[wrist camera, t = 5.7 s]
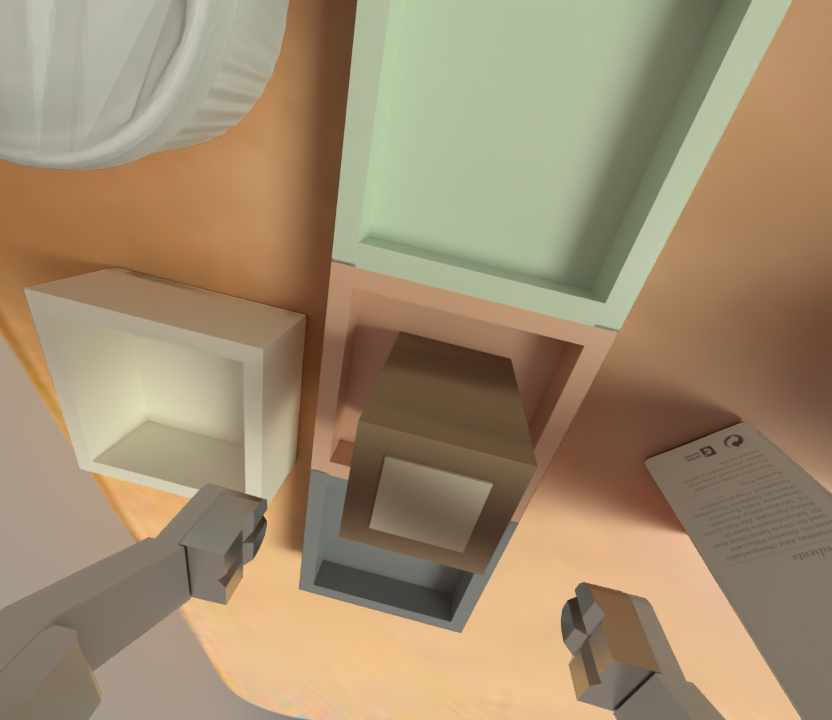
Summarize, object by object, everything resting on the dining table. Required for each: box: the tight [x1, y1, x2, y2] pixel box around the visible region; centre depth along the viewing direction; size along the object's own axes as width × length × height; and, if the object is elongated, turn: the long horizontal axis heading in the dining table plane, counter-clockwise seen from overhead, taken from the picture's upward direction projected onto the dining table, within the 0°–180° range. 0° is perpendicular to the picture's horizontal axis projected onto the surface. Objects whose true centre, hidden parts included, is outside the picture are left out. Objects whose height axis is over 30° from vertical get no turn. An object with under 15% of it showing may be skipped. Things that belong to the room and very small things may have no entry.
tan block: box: [339, 331, 538, 575], centre depth 12 cm, size 4×5×6 cm
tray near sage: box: [332, 0, 792, 333], centre depth 10 cm, size 10×10×2 cm
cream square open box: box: [23, 267, 306, 507], centre depth 15 cm, size 8×8×4 cm
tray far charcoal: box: [299, 469, 518, 633], centre depth 19 cm, size 10×10×2 cm
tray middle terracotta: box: [311, 259, 618, 523], centre depth 14 cm, size 10×10×2 cm
